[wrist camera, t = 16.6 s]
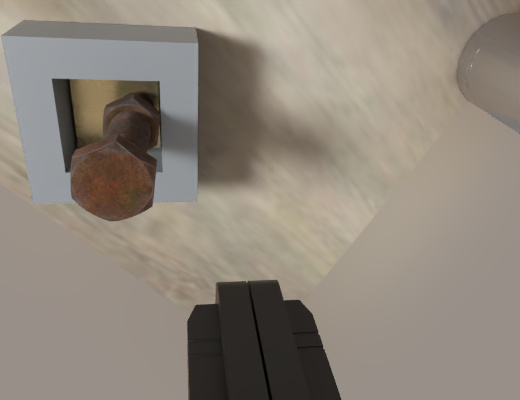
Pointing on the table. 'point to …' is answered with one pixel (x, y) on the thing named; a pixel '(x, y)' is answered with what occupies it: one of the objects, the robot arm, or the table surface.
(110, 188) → the bolt
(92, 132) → the beige square tile
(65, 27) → the socket block
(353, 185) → the table surface
